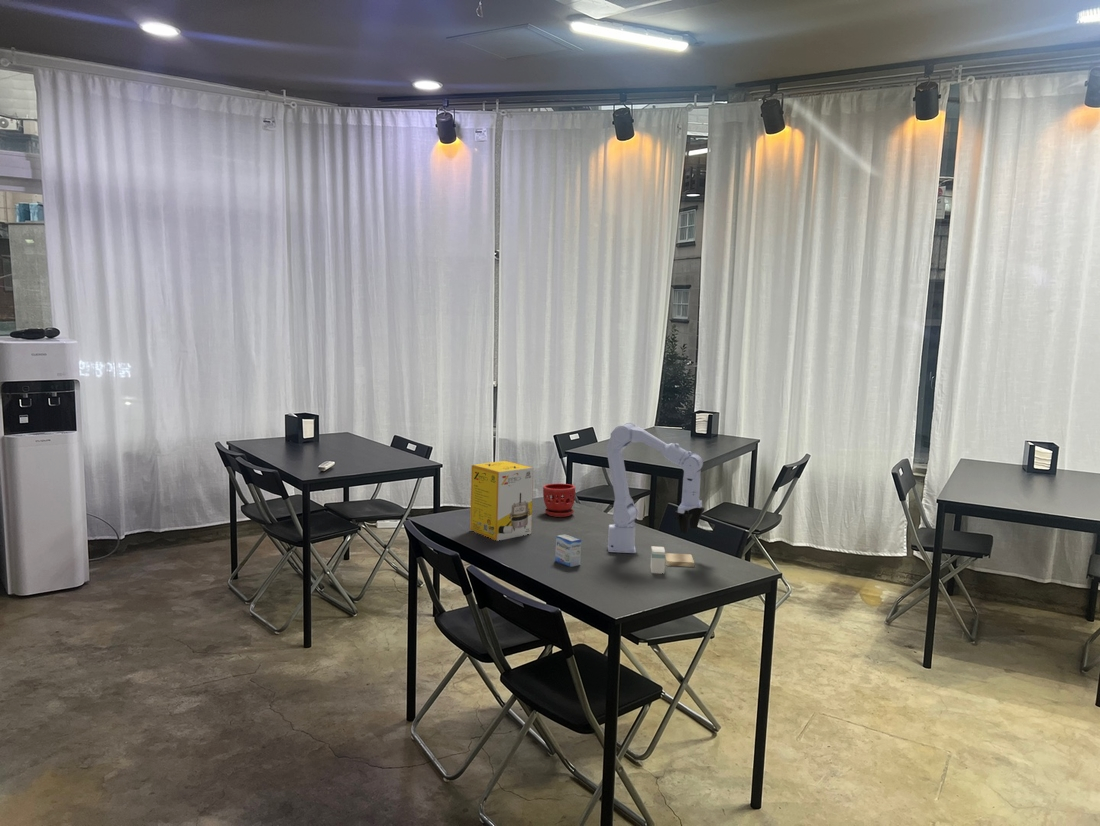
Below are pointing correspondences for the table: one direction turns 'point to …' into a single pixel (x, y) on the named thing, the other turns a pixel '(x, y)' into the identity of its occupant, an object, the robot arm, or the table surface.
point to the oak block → (679, 560)
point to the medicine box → (568, 550)
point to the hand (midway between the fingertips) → (688, 530)
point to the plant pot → (559, 499)
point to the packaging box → (501, 499)
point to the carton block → (657, 559)
